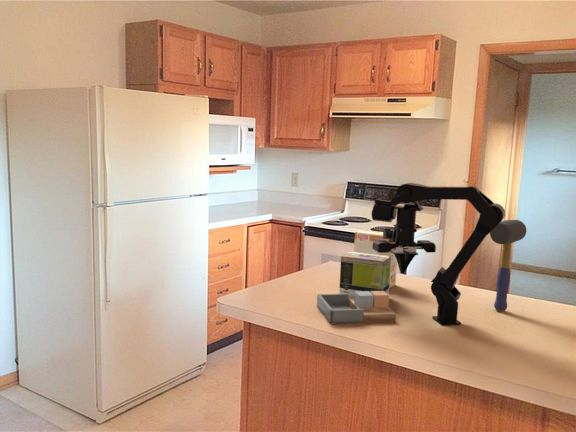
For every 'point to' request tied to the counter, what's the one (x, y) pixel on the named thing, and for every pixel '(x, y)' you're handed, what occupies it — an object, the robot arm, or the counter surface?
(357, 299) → the gray cube
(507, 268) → the rubber mallet
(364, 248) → the coffeecake box
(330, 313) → the tray
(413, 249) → the robot arm
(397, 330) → the counter surface
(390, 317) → the board
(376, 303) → the peach cube
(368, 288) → the tea box
